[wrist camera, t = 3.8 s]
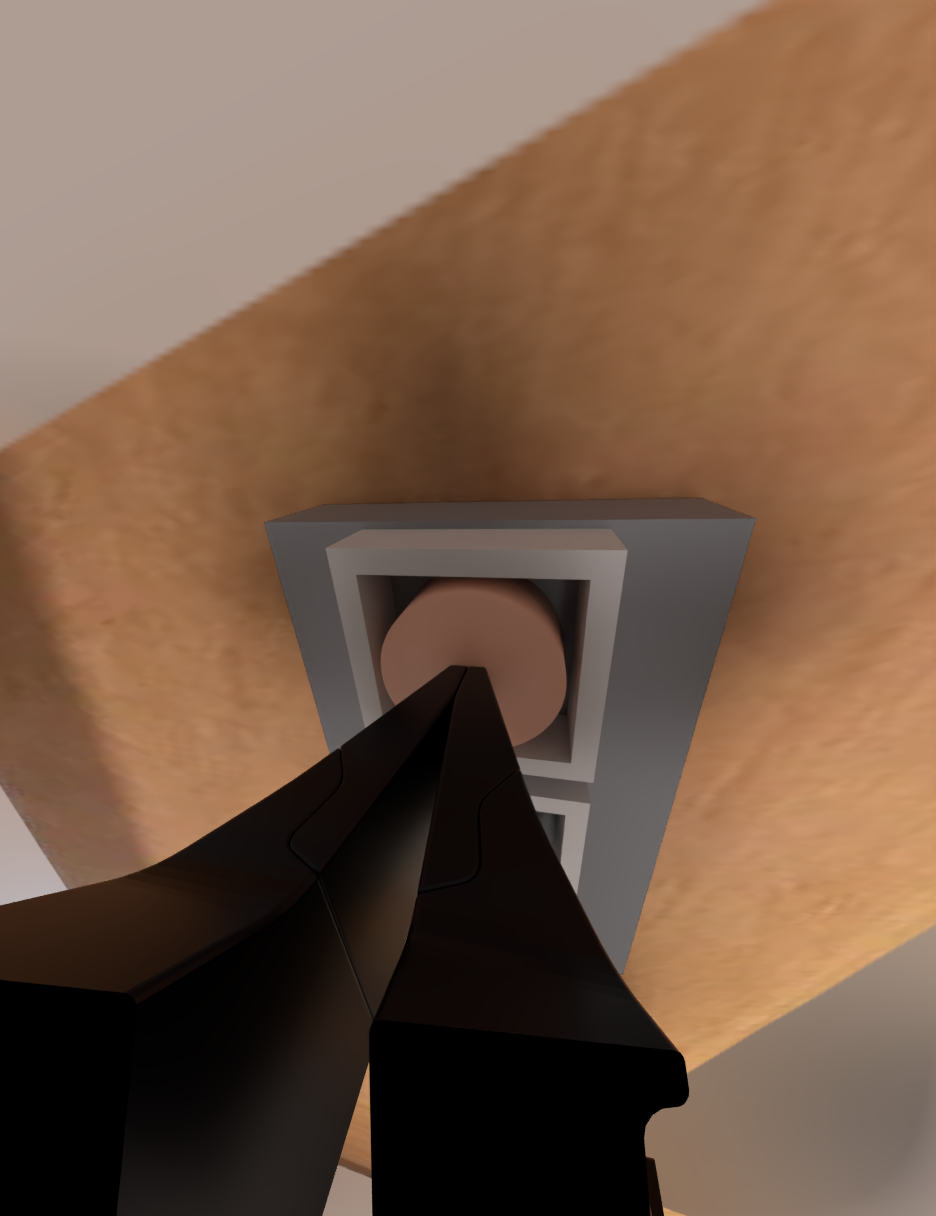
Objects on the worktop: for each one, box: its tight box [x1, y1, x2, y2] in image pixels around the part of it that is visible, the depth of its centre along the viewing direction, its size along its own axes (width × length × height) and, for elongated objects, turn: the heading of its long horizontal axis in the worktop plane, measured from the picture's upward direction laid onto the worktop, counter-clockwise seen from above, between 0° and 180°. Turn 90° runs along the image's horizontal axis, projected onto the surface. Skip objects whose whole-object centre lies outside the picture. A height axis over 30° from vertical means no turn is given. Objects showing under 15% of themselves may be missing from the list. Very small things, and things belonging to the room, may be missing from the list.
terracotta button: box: [381, 576, 566, 746], centre depth 9 cm, size 4×4×2 cm
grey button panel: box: [264, 498, 756, 974], centre depth 14 cm, size 21×12×5 cm, turn 3°
